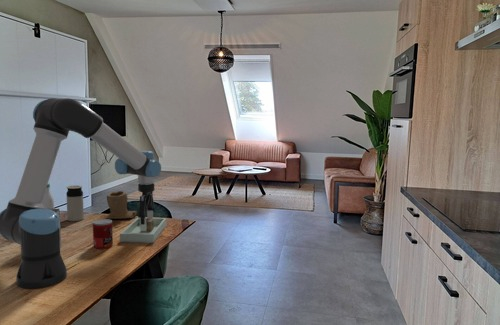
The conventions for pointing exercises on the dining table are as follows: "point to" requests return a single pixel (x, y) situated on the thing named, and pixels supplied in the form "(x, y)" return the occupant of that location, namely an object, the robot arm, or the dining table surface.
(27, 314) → the dining table surface
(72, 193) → the travel mug
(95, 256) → the dining table surface
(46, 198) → the milk bottle
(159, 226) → the tray
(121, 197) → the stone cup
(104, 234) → the canned food
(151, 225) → the walnut cube
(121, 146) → the robot arm
